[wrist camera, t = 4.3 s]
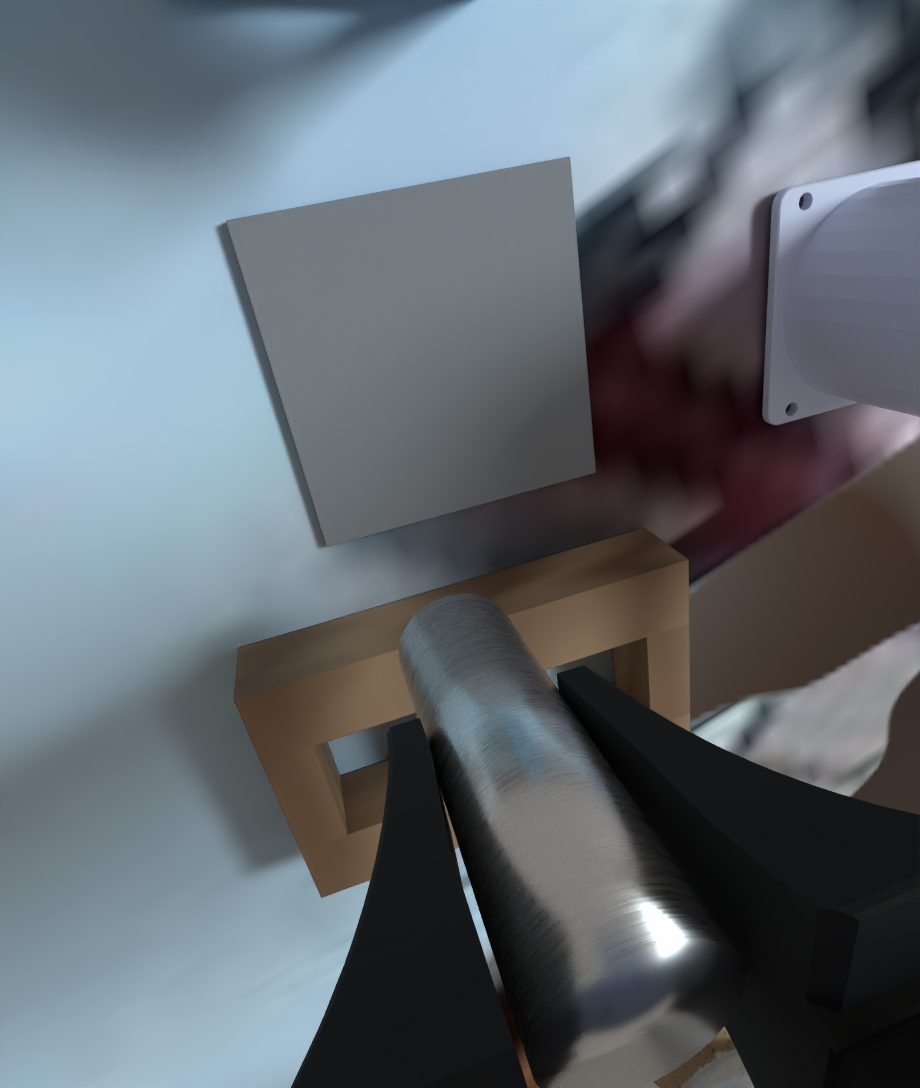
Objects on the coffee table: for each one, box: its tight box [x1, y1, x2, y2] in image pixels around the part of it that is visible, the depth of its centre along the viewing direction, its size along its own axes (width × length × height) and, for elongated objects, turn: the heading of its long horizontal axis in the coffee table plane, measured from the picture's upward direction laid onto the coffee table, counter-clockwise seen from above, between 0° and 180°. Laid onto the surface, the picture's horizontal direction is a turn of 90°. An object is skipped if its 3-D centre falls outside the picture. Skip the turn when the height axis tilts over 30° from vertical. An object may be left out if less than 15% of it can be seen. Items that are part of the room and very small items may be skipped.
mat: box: [226, 157, 596, 547], centre depth 20 cm, size 10×10×1 cm
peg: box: [399, 593, 746, 1088], centre depth 12 cm, size 3×3×9 cm
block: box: [234, 528, 690, 898], centre depth 24 cm, size 16×10×3 cm, turn 100°
